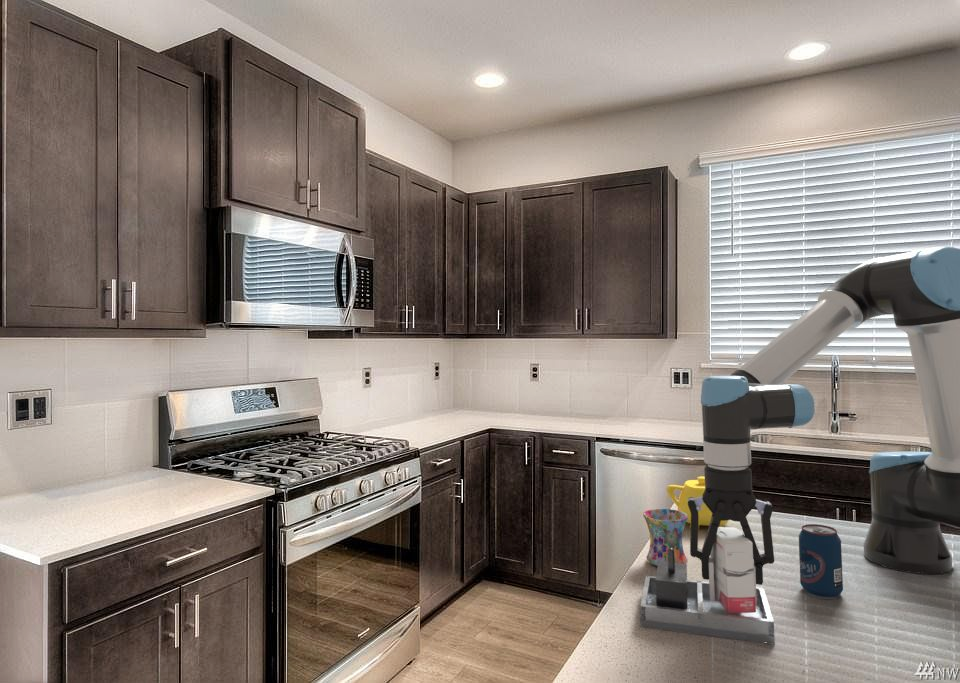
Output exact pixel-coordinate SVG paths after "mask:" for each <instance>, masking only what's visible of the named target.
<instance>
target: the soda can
mask: <svg viewBox="0 0 960 683" xmlns="http://www.w3.org/2000/svg"><path fill="white" fill-rule="evenodd" d="M798 552H799V554H798V556H799V560H798V561H799V581H800V586H801V587H802V588H803V590H804V592H805V593H807V594H808V595H810V596H812V597H815V598H818V599H825V600H832V599H833V600H834V599H837V598H839V597H840V595H841V594H842V592H843V590H844V583H843V582H844V581H843V560H842V559H843V558H842V557H843V556H842V555H843V554H842V540H841V538H840V536H839V534H838V530H837V529H836V528H835V527H831V526H828V525H824V524H818V523H816V524H812V523H811V524H804V525H802V526H801V530H800V533H799V534H798Z"/></svg>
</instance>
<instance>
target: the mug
mask: <svg viewBox="0 0 960 683" xmlns="http://www.w3.org/2000/svg"><path fill="white" fill-rule="evenodd" d="M642 516H643V518H644V520H645V522H646V525H647V529H648V532H649V548H648V552H647V555H646V561H647V562H648V563H650V564H652V565H653V566H656V567H658V561H660V562H668V554H667V550H668V549H669V548H673V549H674V553H675V563H682V564H687V563H688V558H687V556H686V554H685V551H684V545H683V534H684V529H685V526H686V524H687V522H686V521H687V519H688V516H687V514H686V513H684V512H681V511H678V509H672V508H652V509H647V510H645V511H644V512H643V514H642Z"/></svg>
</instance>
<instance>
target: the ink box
mask: <svg viewBox="0 0 960 683" xmlns="http://www.w3.org/2000/svg"><path fill="white" fill-rule="evenodd" d="M709 558H713V566H714V593H715V596H716V598H717V599H718V600H719V602H720V603H721V604H722V606H723V607H724V608H725V609H726V611H727V612H729V613H752V612H756V603H755V585H754V565H753V561H754V560H753V543H752V542H751V541H750V540H749V539H748V538H745V535H744V533H742V532H741V531H740V530H738V528H737V527H731V526H730V527H729V526H723V527H718V530H717V534H716V537H715V540H714V544H713V547H712V550H711V554H710V557H709Z"/></svg>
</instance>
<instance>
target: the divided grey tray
mask: <svg viewBox="0 0 960 683" xmlns="http://www.w3.org/2000/svg"><path fill="white" fill-rule="evenodd" d="M667 554H668V562H660V561H658V566H656V567H657V568H656V576H655V575H645V579H644V583H643V591H642V596H641V601H640V627H641V628H647V629H655V630H662V631H670V632H679V633H685V634H694V635H700V636H707V635H708V636H709V637H716V638H723V639H732V640H739V641H746V642H753V643H754V641H755V643H760V642H767V643H766V644H768V643H773V644H772V645H776V639H775V638H776V637H775V622H774V618H773V616H772V612H771V608H770V605H769V601H768V598H767V594H766V592H765V588H764V587H762V586H756V597H757V606H756V612H752V613H729V612H727V611H726V609H725V608H724V607H723V606H722V604H721V603H720V602H719V600H718V599H717V598H716V596H715V601H710V591H709V581H705V580H704V581H702V580H694V579H693V580H692V579H688V568H687V567H688V565H687V563H686V564H682V563H675V553H674V549H673V548H669V549H668V550H667Z"/></svg>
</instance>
